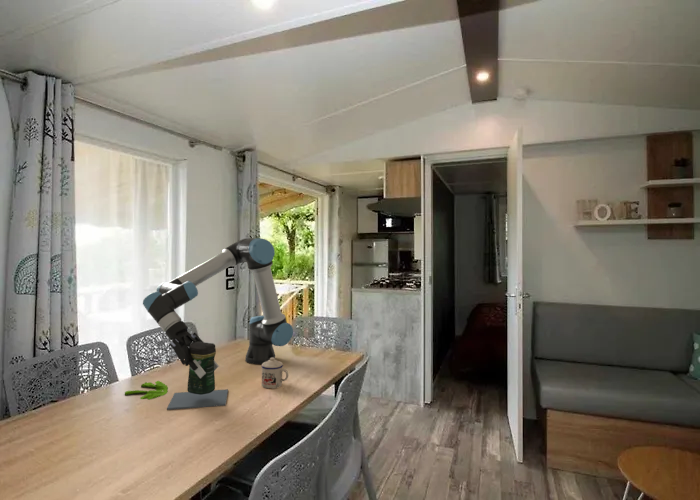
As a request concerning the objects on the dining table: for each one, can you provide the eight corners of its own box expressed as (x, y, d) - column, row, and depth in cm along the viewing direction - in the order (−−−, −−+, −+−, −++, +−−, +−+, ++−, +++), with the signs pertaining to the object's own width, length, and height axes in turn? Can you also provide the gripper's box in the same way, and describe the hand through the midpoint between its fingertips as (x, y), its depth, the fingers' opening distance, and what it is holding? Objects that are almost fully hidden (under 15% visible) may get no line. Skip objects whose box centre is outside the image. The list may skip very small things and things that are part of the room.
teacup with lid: (256, 387, 161) (257, 359, 161) (267, 380, 170) (268, 354, 170) (283, 391, 158) (283, 362, 158) (292, 383, 167) (293, 356, 167)
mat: (227, 390, 157) (227, 389, 157) (225, 405, 142) (225, 403, 142) (174, 394, 152) (174, 392, 152) (166, 409, 137) (166, 408, 137)
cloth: (152, 404, 144) (152, 397, 144) (102, 398, 148) (102, 391, 148) (186, 385, 164) (186, 379, 164) (141, 380, 168) (141, 375, 168)
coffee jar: (218, 389, 148) (219, 341, 148) (203, 397, 141) (205, 346, 141) (198, 386, 152) (200, 338, 152) (183, 392, 144) (184, 343, 144)
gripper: (184, 327, 160) (218, 370, 156) (147, 338, 139) (186, 387, 136) (196, 315, 159) (230, 358, 155) (161, 325, 138) (199, 374, 135)
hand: (209, 372), depth 146 cm, fingers closed on coffee jar, 8 cm apart
